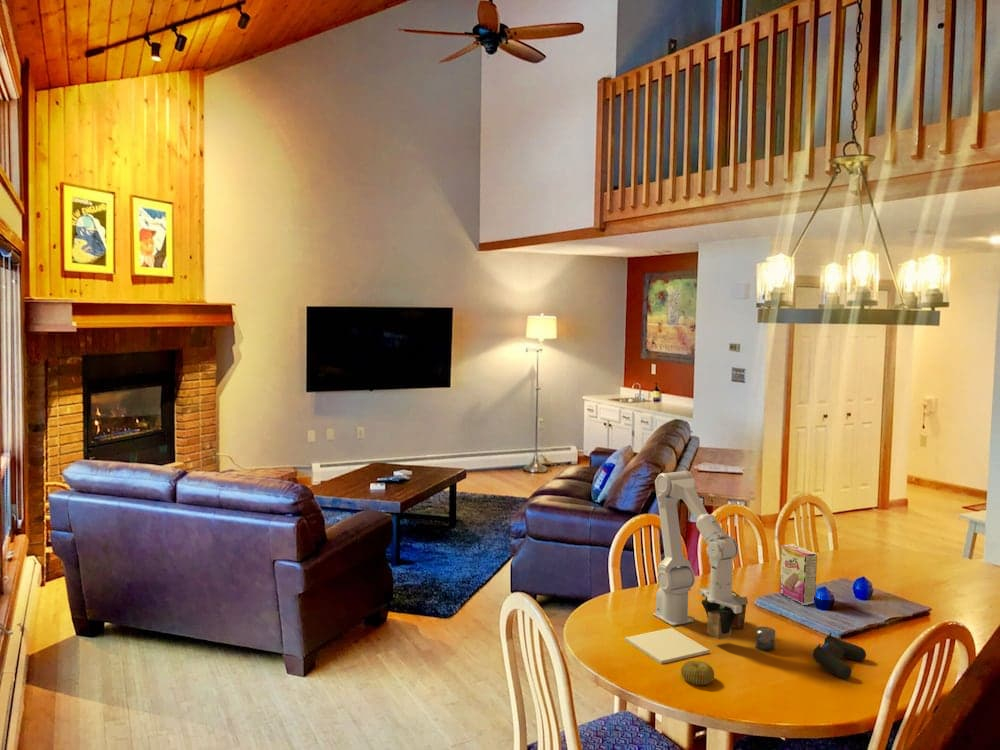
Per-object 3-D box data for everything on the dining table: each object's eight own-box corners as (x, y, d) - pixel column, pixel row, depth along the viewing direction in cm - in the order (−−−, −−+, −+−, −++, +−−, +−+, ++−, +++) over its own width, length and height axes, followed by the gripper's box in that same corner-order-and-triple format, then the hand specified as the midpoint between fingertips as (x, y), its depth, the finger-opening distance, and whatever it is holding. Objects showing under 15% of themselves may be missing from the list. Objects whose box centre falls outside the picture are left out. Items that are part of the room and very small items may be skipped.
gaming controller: (857, 666, 210) (825, 638, 215) (870, 651, 208) (837, 624, 213) (838, 689, 198) (804, 659, 203) (852, 674, 195) (817, 644, 200)
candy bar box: (778, 594, 256) (780, 544, 255) (790, 592, 258) (792, 543, 256) (803, 606, 246) (805, 555, 244) (815, 604, 247) (818, 553, 246)
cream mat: (625, 640, 219) (625, 637, 219) (671, 630, 226) (671, 627, 226) (660, 664, 205) (660, 661, 205) (709, 652, 212) (709, 649, 212)
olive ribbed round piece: (720, 665, 196) (702, 675, 191) (720, 681, 196) (702, 691, 191) (693, 654, 202) (674, 664, 196) (692, 670, 202) (674, 679, 197)
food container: (703, 618, 236) (704, 585, 235) (720, 615, 238) (721, 583, 237) (728, 634, 224) (730, 599, 223) (746, 631, 226) (748, 597, 226)
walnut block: (707, 632, 218) (707, 611, 218) (719, 630, 220) (720, 609, 220) (718, 639, 214) (719, 617, 214) (731, 636, 216) (731, 615, 216)
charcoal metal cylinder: (751, 646, 217) (752, 628, 216) (765, 642, 219) (765, 625, 218) (764, 653, 212) (765, 635, 212) (778, 649, 214) (779, 632, 214)
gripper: (692, 575, 221) (690, 622, 222) (728, 592, 208) (726, 642, 209) (711, 571, 224) (710, 618, 225) (748, 588, 211) (746, 637, 212)
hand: (719, 629), depth 217 cm, fingers closed on walnut block, 4 cm apart
